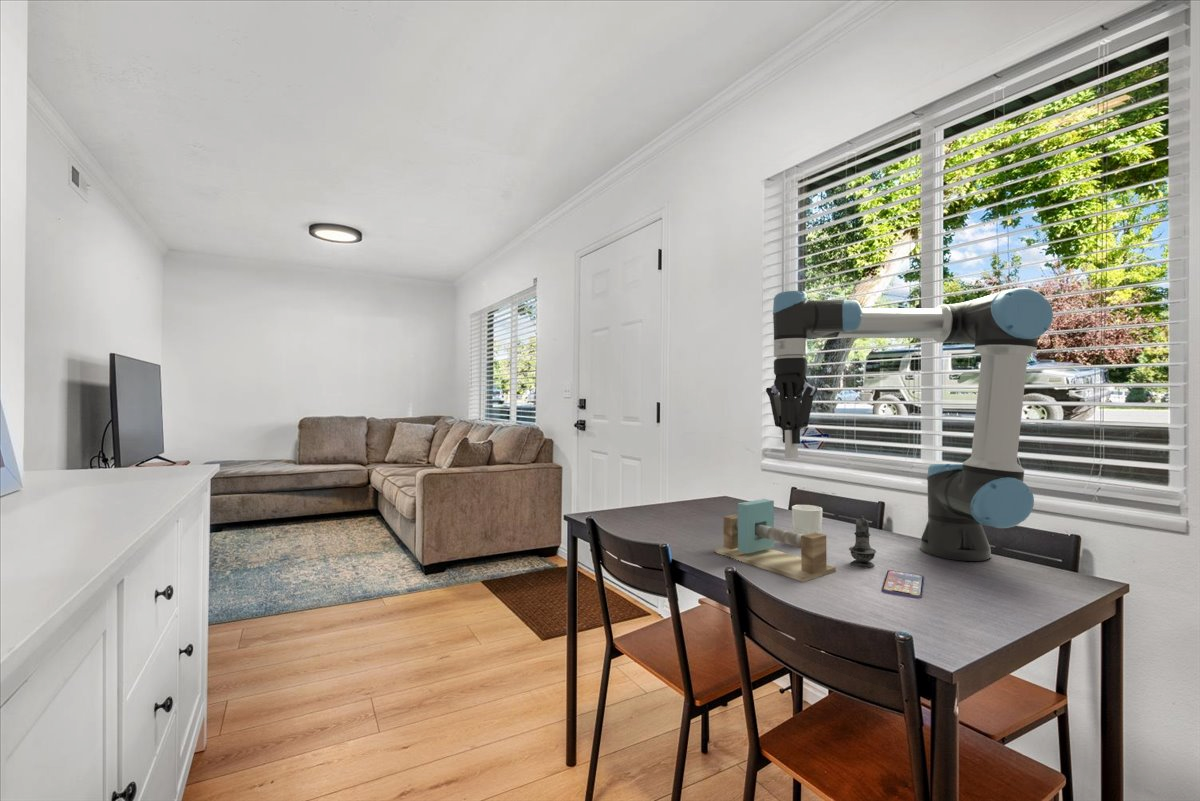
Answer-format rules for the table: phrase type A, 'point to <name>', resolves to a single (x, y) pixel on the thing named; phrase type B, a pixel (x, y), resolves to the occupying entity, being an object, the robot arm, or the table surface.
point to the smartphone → (903, 584)
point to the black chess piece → (862, 545)
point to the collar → (747, 518)
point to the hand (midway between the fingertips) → (791, 457)
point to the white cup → (807, 519)
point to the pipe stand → (776, 561)
